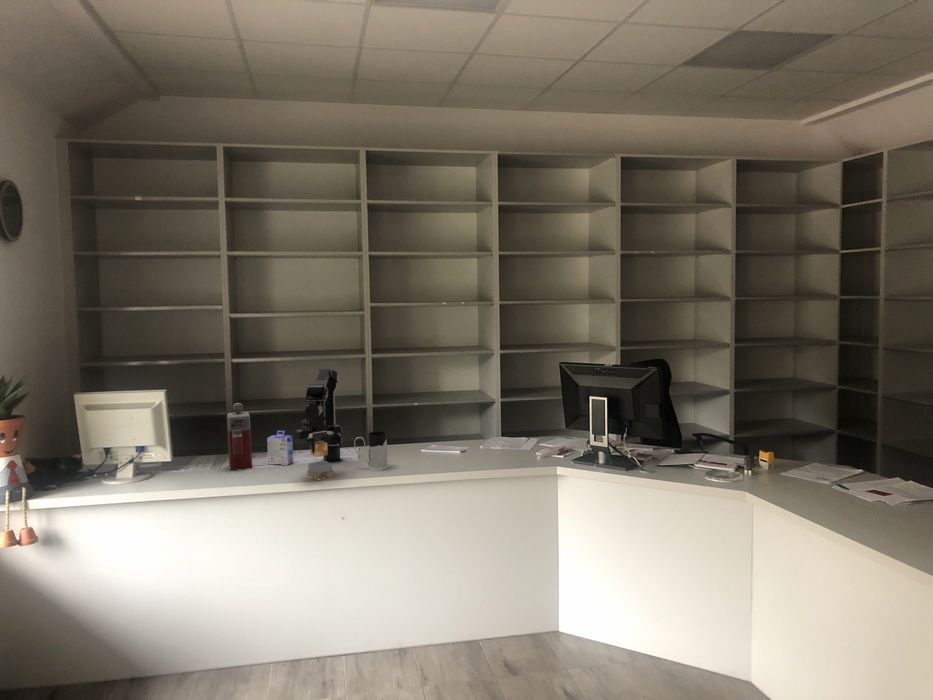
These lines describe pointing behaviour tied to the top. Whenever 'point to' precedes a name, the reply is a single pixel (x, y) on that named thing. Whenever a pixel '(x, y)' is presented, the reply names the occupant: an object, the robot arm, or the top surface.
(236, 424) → the red and grey bottle
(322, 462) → the tower top
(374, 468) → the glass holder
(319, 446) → the orange cube
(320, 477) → the tower base
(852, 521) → the top surface
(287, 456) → the ink cartridge box
